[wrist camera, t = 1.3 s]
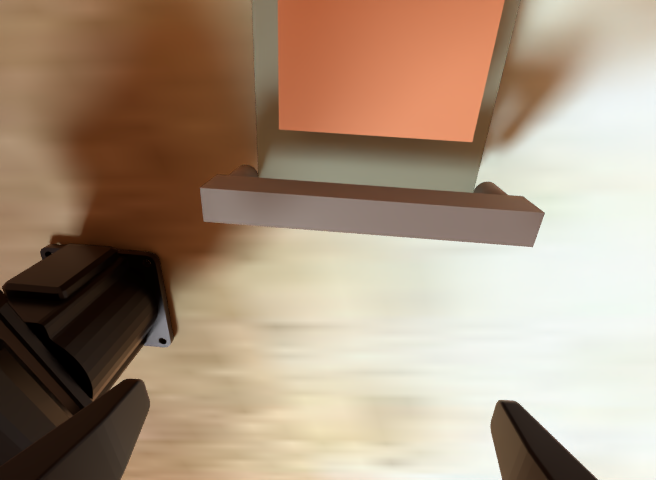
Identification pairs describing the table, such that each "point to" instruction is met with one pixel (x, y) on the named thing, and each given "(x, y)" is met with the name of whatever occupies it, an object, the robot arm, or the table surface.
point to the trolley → (376, 122)
